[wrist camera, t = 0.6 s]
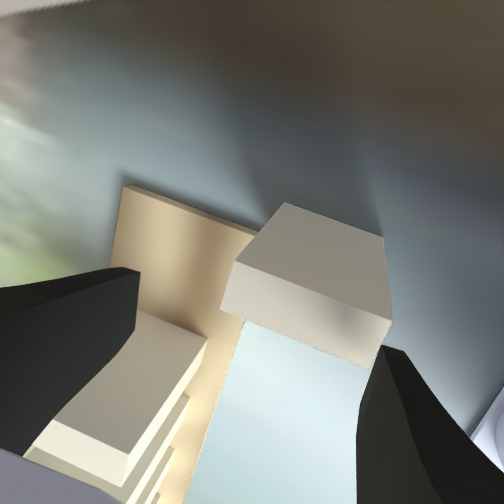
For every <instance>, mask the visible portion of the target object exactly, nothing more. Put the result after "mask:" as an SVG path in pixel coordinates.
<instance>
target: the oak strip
mask: <svg viewBox="0 0 504 504" xmlns="http://www.w3.org/2000/svg"><path fill="white" fill-rule="evenodd" d="M257 233H258V231H255V230H253V229H250V228H247V227H244V226H242V225H239V224H236V223H234V222H231V221H228V220H226V219H223V218H220V217H218V216H215V215H212V214H210V213H207V212H204V211H202V210H199V209H196V208H194V207H191V206H188V205H185V204H183V203H180V202H177V201H175V200H172V199H169V198H167V197H164V196H161V195H159V194H156V193H153V192H151V191H148V190H145V189H143V188H140V187H137V186H135V185H132V184H130V185H127V186H125V187H123V191H122V197H121V202H120V208H119V213H118V219H117V225H116V230H115V236H114V242H113V247H112V253H111V259H110V264H109V268H114V267H126V268H129V269H132V270H136V271H139V272H141V275H140V285H139V295H138V305H137V310H139V311H142V312H144V313H147V314H149V315H151V316H154V317H156V318H159V319H161V320H164V321H166V322H168V323H171V324H173V325H176V326H178V327H180V328H183V329H185V330H188V331H190V332H192V333H195V334H197V335H200V336H202V337H204V338H207V339H208V341H207V345H206V348H205V351H204V355H203V358H202V361H201V365H200V366H199V368H198V369H197V371H196V372H195V374H194V375H193V377H192V379H191V380H190V382H189V383H188V385H187V386H186V388H185V389H184V391H183V392H182V394H183V395H185V396H187V397H190V401H189V405H188V408H187V411H186V415H185V418H184V421H183V422H182V424H181V426H180V428H179V429H178V431H177V433H176V434H175V436H174V438H173V439H172V441H171V443H170V445H169V446H168V447H171V448H173V449H175V451H174V454H173V458H172V461H171V464H170V468H169V470H168V472H167V474H166V476H165V478H164V479H163V481H162V483H161V485H160V487H159V488H158V490H157V492H156V493H158V494H160V495H161V498H160V501H159V504H184V501H185V498H186V495H187V492H188V489H189V486H190V483H191V480H192V477H193V474H194V471H195V468H196V465H197V462H198V459H199V456H200V453H201V450H202V447H203V444H204V441H205V438H206V435H207V432H208V429H209V426H210V423H211V420H212V417H213V414H214V411H215V408H216V405H217V402H218V399H219V396H220V393H221V390H222V387H223V384H224V381H225V378H226V375H227V372H228V369H229V366H230V363H231V360H232V357H233V354H234V351H235V348H236V345H237V342H238V339H239V336H240V333H241V330H242V327H243V324H244V321H245V319H242V318H240V317H237V316H235V315H232V314H230V313H227V312H225V311H222V310H220V306H221V302H222V299H223V296H224V293H225V289H226V286H227V283H228V279H229V276H230V273H231V270H232V266H233V263H234V260H235V259H236V258H237V257H238V256H239V254H240V253H241V252H242V251H243V250H244V249H245V247H246V246H247V245H248V244H249V243H250V242H251V240H252V239H253V238H254V237H255V236H256V235H257Z"/></svg>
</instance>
